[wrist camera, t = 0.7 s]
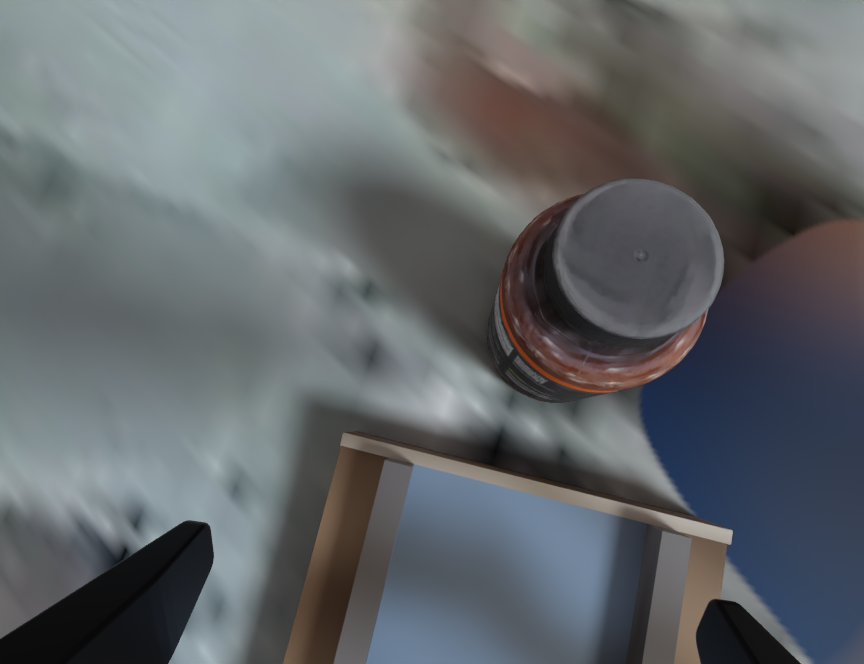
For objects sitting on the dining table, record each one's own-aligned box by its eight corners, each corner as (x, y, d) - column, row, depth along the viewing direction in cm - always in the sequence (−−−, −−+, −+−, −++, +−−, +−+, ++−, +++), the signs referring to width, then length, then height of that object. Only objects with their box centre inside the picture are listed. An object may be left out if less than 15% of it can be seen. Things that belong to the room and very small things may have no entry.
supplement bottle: (625, 288, 23) (787, 160, 12) (607, 416, 22) (766, 408, 11) (497, 264, 23) (536, 120, 12) (473, 389, 22) (493, 355, 11)
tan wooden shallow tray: (646, 867, 19) (698, 984, 15) (272, 750, 20) (228, 830, 16) (696, 517, 21) (753, 538, 17) (356, 431, 22) (335, 433, 18)
